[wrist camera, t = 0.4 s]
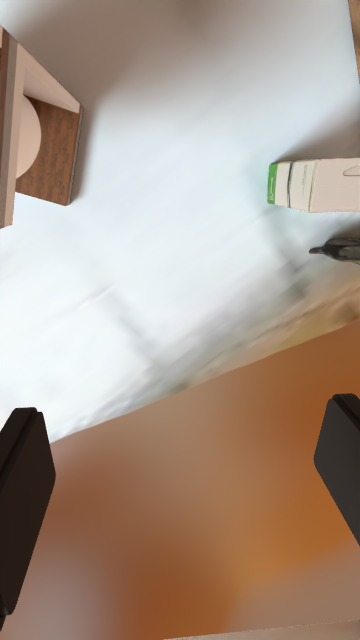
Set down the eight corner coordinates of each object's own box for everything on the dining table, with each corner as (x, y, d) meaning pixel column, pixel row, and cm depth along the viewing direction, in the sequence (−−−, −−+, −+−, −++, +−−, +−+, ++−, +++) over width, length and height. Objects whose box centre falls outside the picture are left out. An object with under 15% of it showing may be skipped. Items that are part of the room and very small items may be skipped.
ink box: (265, 204, 41) (305, 214, 30) (269, 162, 39) (313, 157, 28) (330, 202, 42) (391, 211, 31) (336, 160, 40) (405, 154, 29)
